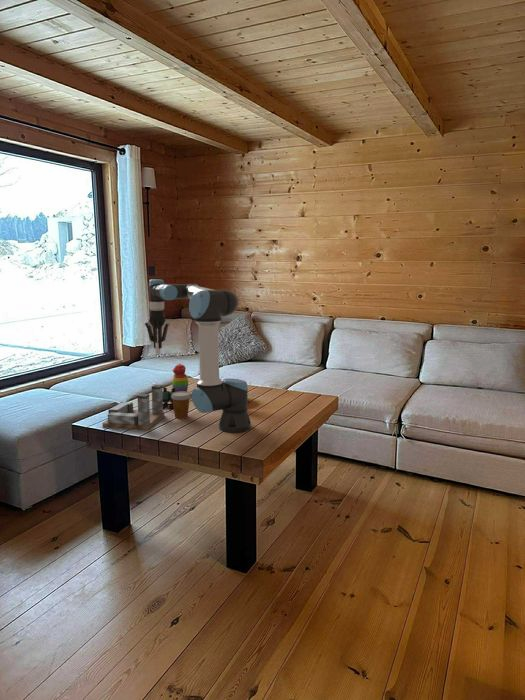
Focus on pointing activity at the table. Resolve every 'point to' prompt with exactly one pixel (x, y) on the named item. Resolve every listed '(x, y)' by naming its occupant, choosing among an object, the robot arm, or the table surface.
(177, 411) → the disposable coffee cup
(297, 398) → the table surface
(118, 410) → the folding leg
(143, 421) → the grey block structure
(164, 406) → the binoculars
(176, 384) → the stacking bear
